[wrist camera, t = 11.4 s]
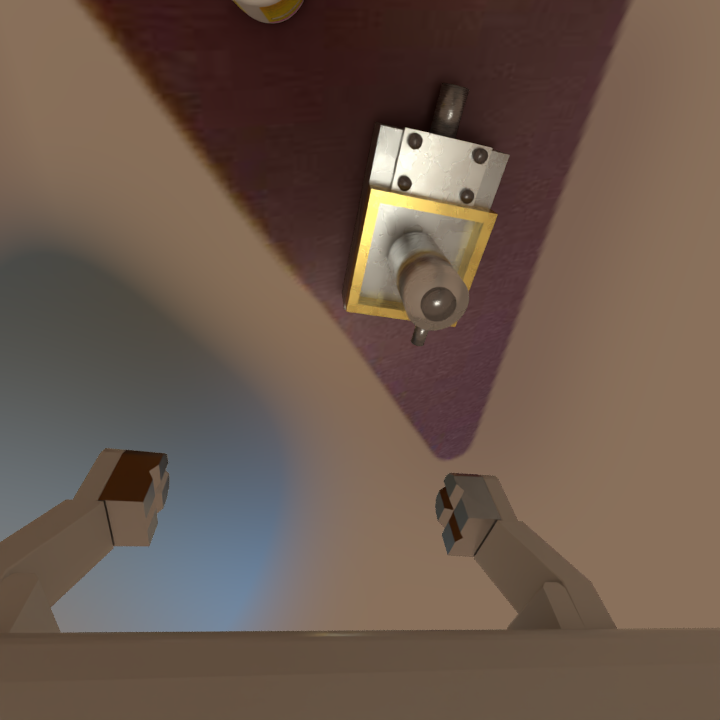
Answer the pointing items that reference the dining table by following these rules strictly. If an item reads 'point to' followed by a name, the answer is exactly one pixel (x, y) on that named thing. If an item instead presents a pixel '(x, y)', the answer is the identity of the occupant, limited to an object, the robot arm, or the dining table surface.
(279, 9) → the supplement bottle
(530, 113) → the dining table surface
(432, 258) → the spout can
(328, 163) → the dining table surface
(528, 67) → the dining table surface
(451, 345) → the dining table surface
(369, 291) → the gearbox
